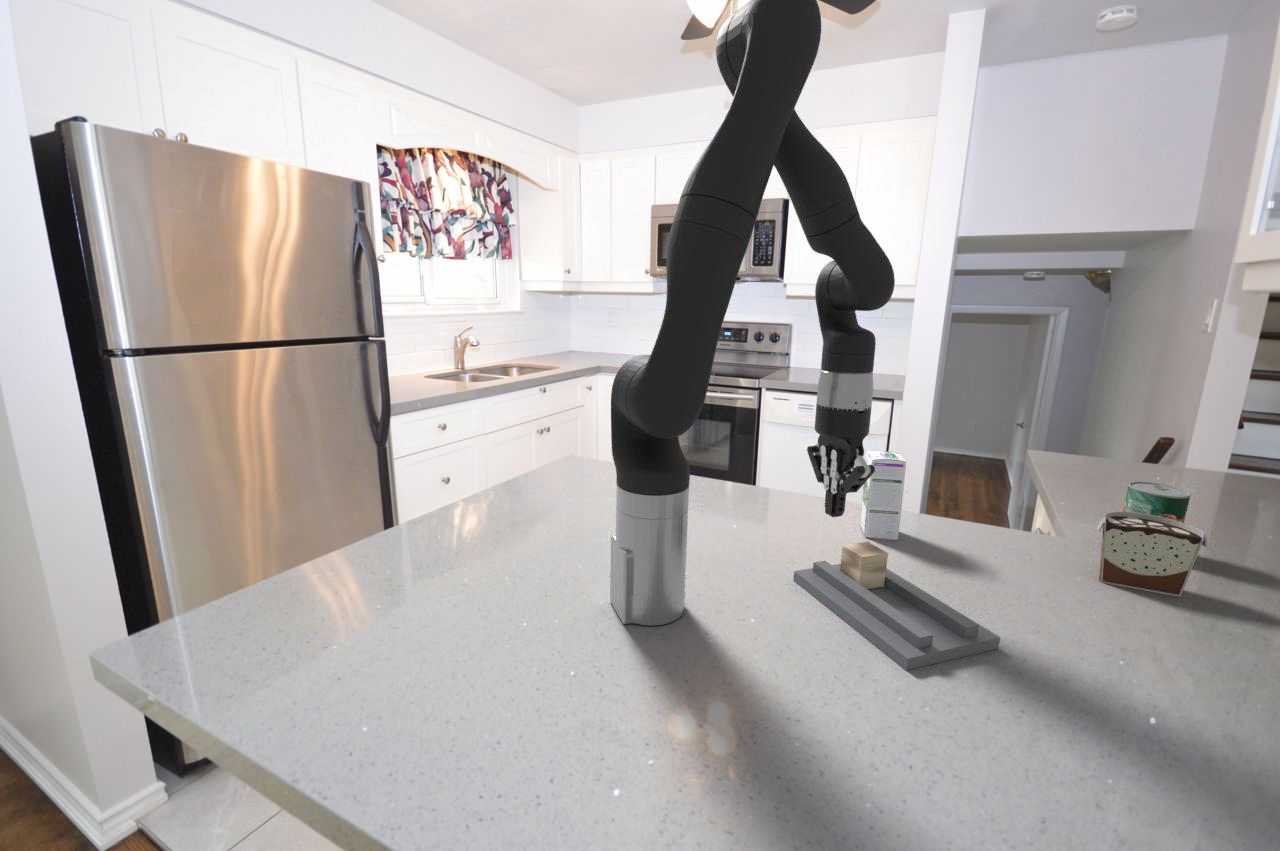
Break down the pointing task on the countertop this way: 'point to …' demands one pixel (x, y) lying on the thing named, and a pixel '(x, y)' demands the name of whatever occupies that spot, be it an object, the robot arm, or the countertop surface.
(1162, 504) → the canned tomato
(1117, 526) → the food container
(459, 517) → the countertop surface
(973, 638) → the grey rail board
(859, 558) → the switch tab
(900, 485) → the syrup box
